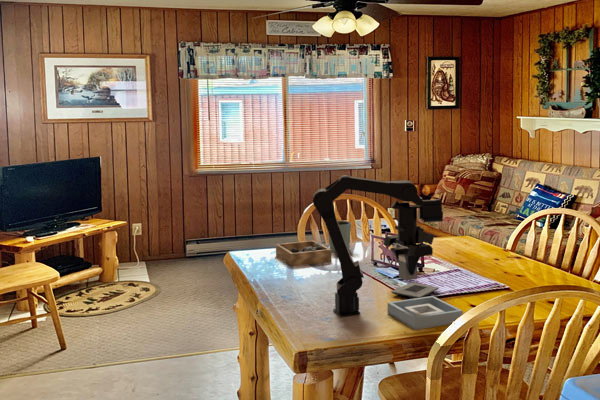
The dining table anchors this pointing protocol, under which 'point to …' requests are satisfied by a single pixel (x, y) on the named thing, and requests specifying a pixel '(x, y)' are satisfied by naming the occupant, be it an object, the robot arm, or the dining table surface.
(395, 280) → the dining table surface
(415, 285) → the grey rectangular plate
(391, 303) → the walled box
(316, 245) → the bison figurine
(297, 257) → the wooden tray
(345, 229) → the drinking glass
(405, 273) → the plug
